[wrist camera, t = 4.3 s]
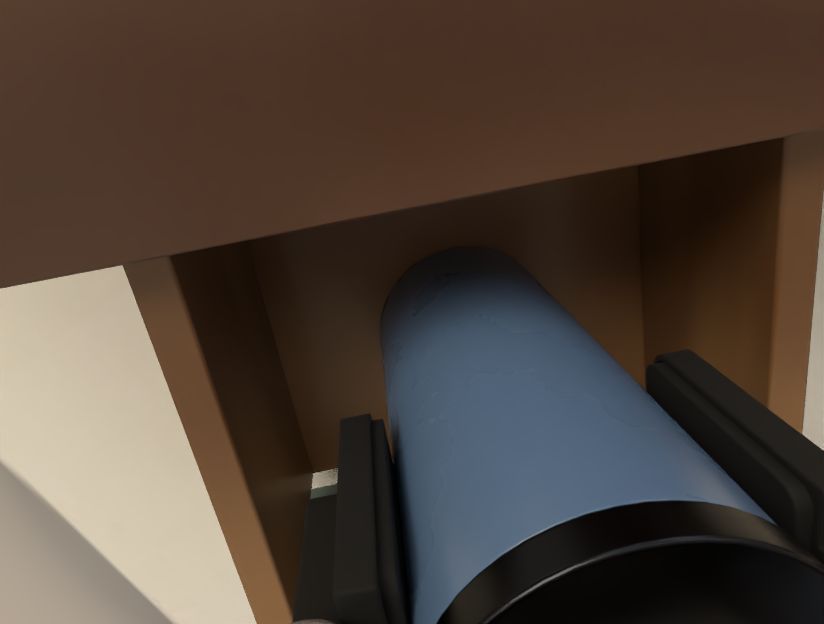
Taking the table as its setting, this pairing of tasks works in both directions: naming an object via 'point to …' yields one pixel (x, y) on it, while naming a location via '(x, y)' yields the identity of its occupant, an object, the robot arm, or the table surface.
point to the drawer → (496, 230)
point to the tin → (559, 472)
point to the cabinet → (359, 109)
